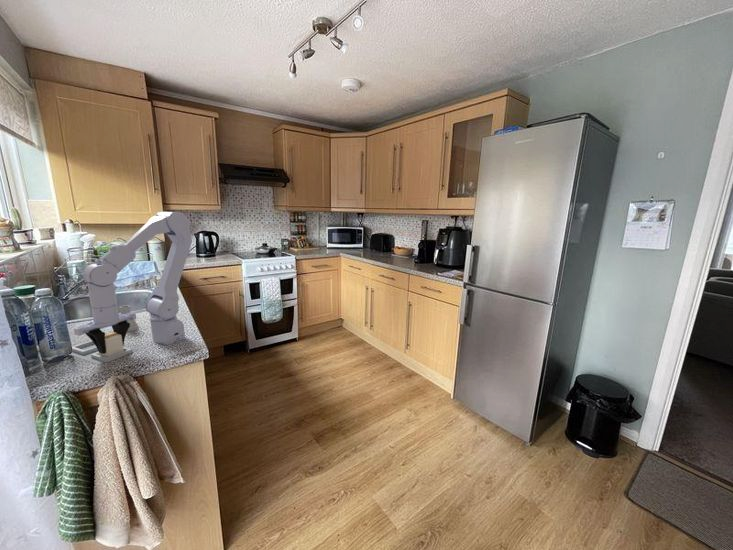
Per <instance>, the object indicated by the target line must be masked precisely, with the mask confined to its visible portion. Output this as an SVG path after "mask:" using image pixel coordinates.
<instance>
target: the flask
mask: <svg viewBox="0 0 733 550" xmlns="http://www.w3.org/2000/svg"><path fill="white" fill-rule="evenodd" d="M118 310H120V315H122V314H127V313H131V312H132V311H131V305H129V304H127V305H126V304H125V305H120V306H118ZM127 322H128V323H130V327H129V329H128V331H127V332H129V333H130V332H132V331H136V330H139V324H138V323H137V322H136V319H135V320H129V321H127Z"/></svg>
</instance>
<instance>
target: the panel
mask: <svg viewBox="0 0 733 550" xmlns="http://www.w3.org/2000/svg"><path fill="white" fill-rule="evenodd" d="M71 347H72V353H71V354H68V355H69V356H73V357H75V358H79V359H81V360H84V361H87V362H90V363H93V364H96V365H99V366H100V365H104V364H105V363H109V362H111V361H114V360H117V359H119V358H122V357H124V356H126V355H130V354H133V353H135V352H138V351H139V350H138V349H135V348H132V347H128V346H125V345H124V346H123V349H124V351H123V352H121V353H118V354H115V355H112V356H110V357H104V356H101V355H100V353H99V351H98V349H97V347H96V345H95V344H94V342H93V341H92V340H89V341H85V342H81V343H79V344H76V345H73V346H71Z"/></svg>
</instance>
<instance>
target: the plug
mask: <svg viewBox="0 0 733 550" xmlns="http://www.w3.org/2000/svg"><path fill="white" fill-rule="evenodd" d="M105 347H106V353H104V354H102V353H100V355H101V356H104V357H110V356H112V355H115V354H118V353H121V352H123V351H124V349H123V343H122V336H121V334H117V333H116V332H114V331H112V332H108V333H105Z"/></svg>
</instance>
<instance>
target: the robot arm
mask: <svg viewBox="0 0 733 550" xmlns="http://www.w3.org/2000/svg"><path fill="white" fill-rule="evenodd" d="M191 224H192V223H191V221H190V220H189V219H188V217H187V215H186V214H185V213H183V212H181V211H166V210H162V211H159V212H157V213H156V214H155V215H154V216H152V217H150V218H149V220H147V222H146V223H145V224H144V225H143V226H142V227H141V228H139V229H138V230H137V231H136V233H134V234H133V235H132V236H131V237H130V238H129V239H128V240H127V241H126V242H125V243H117V244H115V245H111V246H109V247H108V248H107V249H108V251H107V252H106V253H105V254H104V255H102V256H101V257H100V258H96V259H95V260H94V262H95V263H92V264H89V265H87V266H86V267H85V268H84V269H83V272H82V274H81V277H82V279H83V281H85V282H87V289H88V297H89V302H90V308H91V313H92V319H93V320H92V321H90V322H87V323H85V324H82V325H80V326H77V327H74V328H73V331H74V335H75V336H78V337H80V336H83V335H86V336H87V337H88V338H89V339H90V341H93V342H94V344H95V345H96V347H97V349H98V351H99V353H102V354H104V353H106V347H105V334H106V332H105V331H102V329H105V328H108V327H111V328H112V332H116V333H117V334H121V336H122V343H123V346H125V339H126V336H127V331H128V329H129V327H130V323H128V322H127V321H129V320H135V321H136V320H137V313H136V312H132V311H130V312H131V313H127V314H122V315H121V314H119V306H118V301H117V293H116V289H115V281H116V280H117V277H118V274H119V273H120V272H121V271H123V270H124V269H125V268H126V267H127V266H128V265H129V264H130V263H131V262H133V261H134V260H135V259H136V252H137V251H138V250H139V249H140V248H142V247H143V246H144V245H145V244H146V243H148V242H149V241H150V240H152V239H153V238H154V237H156V235H160V234H166V235H167V237H168V238H169V240H170V241H171V244H170V248H169V252H168V254H167V258H166V260H165V264H164V267H163V270H162V272H161V273H162V274H161V277H160V279H159V282H158V285H157V287H156V288H155V289H154V290H153V291H152V292H151V295H150V297H149V298H148V299H147V300H146V301H145V304H144V308H145V311H146V312H147V313H149V315H150V316H149V320H150V329H151V330H150V331H151V337H152V342H153V343H156V344H164V345H171V344H173V343H177V342H180V341H181V340H183V339H186V333H185V325H184V322H183V321H182V320H180V319H179V318H178V317H177V315H178V313H179V311H180V310H179V309H180V308H179V307H180V306H179V301H180V296H179V294H178V287H179V285H180V281H181V278H182V274H183V272H184V269H185V264H186V262H187V259H188V257H189V256H188V255H189V252H190V249H191V247H192V241H193V240H192V239H193V238H192V234H191Z"/></svg>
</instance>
